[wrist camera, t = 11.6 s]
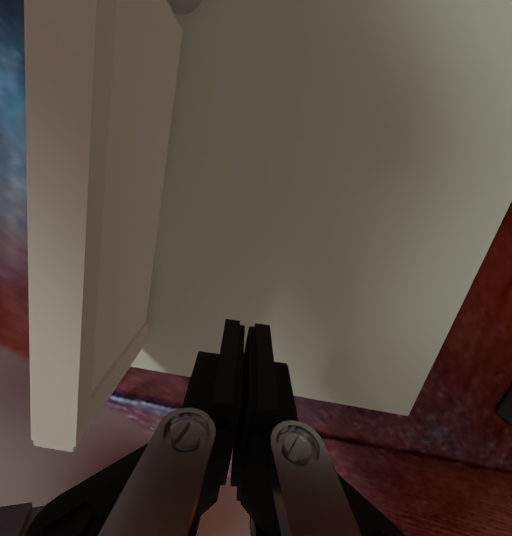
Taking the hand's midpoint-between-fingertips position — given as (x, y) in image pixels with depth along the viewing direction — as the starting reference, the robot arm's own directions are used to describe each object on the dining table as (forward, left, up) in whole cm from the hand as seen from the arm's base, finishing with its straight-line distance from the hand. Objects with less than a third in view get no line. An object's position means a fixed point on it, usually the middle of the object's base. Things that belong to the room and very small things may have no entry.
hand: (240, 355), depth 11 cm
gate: (-7, +3, -8) cm, 11 cm away
